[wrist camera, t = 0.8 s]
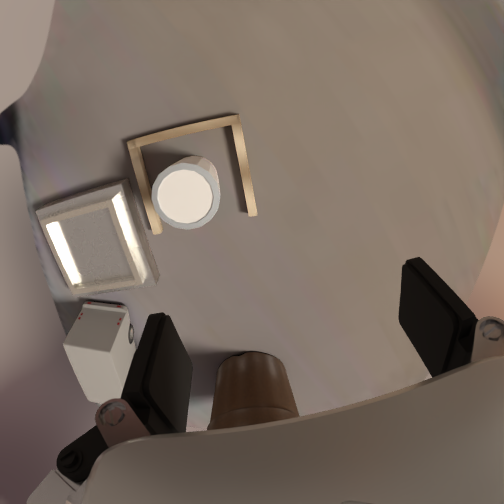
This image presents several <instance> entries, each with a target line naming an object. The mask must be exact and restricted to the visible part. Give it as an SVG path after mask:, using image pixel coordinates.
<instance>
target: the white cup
mask: <svg viewBox="0 0 504 504" xmlns="http://www.w3.org/2000/svg"><path fill="white" fill-rule="evenodd" d="M151 199H152V202H153V205H154V208H155V211H156V212H157V214H158V215H159V216H160V217H161V219H162V220H163V221H164V222H166V223H168V224H170V225H171V226H173V227H175V228H182V229H192V228H197V227H201V226H202V225H204V224H205V223H207V222H208V221H210V220H211V219H212V218H213V216H214V215H215V213H216V212H217V210H218V207H219V201H220V189H219V180H218V175H217V171H216V168H215V167H214V166H213V164H212V163H211V162H210V161H208V160H207V159H205V158H203V157H199V156H190V157H186V158H183V159H181V160H179V161H178V162H176V163H174V164H172V165H171V166H169V167H168V168H166V169H165V170H164V171H163V172H161V173H160V174H159V175H158V177H157V179H156V180H155V182H154V184H153V187H152V198H151Z"/></svg>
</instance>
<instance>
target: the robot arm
mask: <svg viewBox="0 0 504 504" xmlns="http://www.w3.org/2000/svg"><path fill="white" fill-rule="evenodd" d="M399 322H400V325H401V326H402V328H403V330H404V331H405V333H406V334H407V336H408V338H409V339H410V341H411V342H412V344H413V346H414V347H415V349H416V351H417V352H418V354H419V356H420V357H421V359H422V361H423V362H424V364H425V366H426V367H427V369H428V371H429V373H430V374H431V376H432V378H430V379H428V380H425V381H422V382H419V383H417V384H414V385H411V386H409V387H406V388H403V389H400V390H397V391H394V392H391V393H388V394H385V395H382V396H378V397H375V398H372V399H368V400H365V401H362V402H358V403H355V404H351V405H347V406H343V407H340V408H336V409H332V410H328V411H323V412H319V413H315V414H310V415H305V416H301V417H296V418H291V419H285V420H280V421H274V422H268V423H262V424H256V425H249V426H242V427H234V428H225V429H216V430H206V431H196V432H186V424H187V415H188V405H189V396H190V387H191V379H192V371H193V367H192V362H191V360H190V358H189V356H188V354H187V352H186V350H185V348H184V346H183V344H182V341H181V339H180V337H179V335H178V333H177V331H176V329H175V326H174V324H173V322H172V320H171V318H170V316H169V315H165V314H164V313H163V312H162V313H156V314H150V315H149V316H148V319H147V322H146V325H145V328H144V331H143V334H142V337H141V340H140V343H139V346H138V349H136V351H135V353H134V356H133V359H132V362H131V365H130V368H129V371H128V375H127V378H126V381H125V384H124V388H123V391H122V394H121V398H114V399H110V400H108V401H106V402H104V403H103V404H102V405H101V406H100V407H99V409H98V410H97V412H96V414H95V422H96V426H95V427H93V428H92V429H90V430H89V431H88V432H86V433H85V434H84V435H82V436H81V437H79V438H78V439H76V440H75V441H74V442H72V443H71V444H69V445H68V446H66V447H65V448H64V449H63V450H62V451H61V452H60V453H59V455H58V458H57V468H58V469H57V470H56V471H54V470H52V471H51V472H50V473H49V474H48V475H47V476H46V478H45V479H44V480H43V481H42V482H41V484H40V485H39V486H38V487H37V488H36V489H35V491H34V492H33V493H32V494H31V496H30V497H29V499H28V500H27V504H504V321H503V320H501V319H499V318H496V317H490V316H488V317H484V318H482V319H480V320H478V319H477V318H476V317H475V315H474V313H473V312H472V311H471V310H470V309H469V308H468V307H467V305H466V304H465V303H464V302H463V301H462V300H461V299H460V298H459V297H458V296H457V294H456V293H455V292H454V291H453V290H452V289H451V288H450V287H449V286H448V285H447V284H446V283H445V282H444V281H443V280H442V279H441V278H440V277H439V276H438V275H437V273H436V272H435V271H434V270H433V269H432V268H431V267H430V266H429V265H428V264H427V263H426V262H425V261H424V260H423V259H422V258H420V257H417V258H413V259H409V260H407V261H406V263H405V264H404V265H403V266H402V279H401V294H400V306H399Z"/></svg>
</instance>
